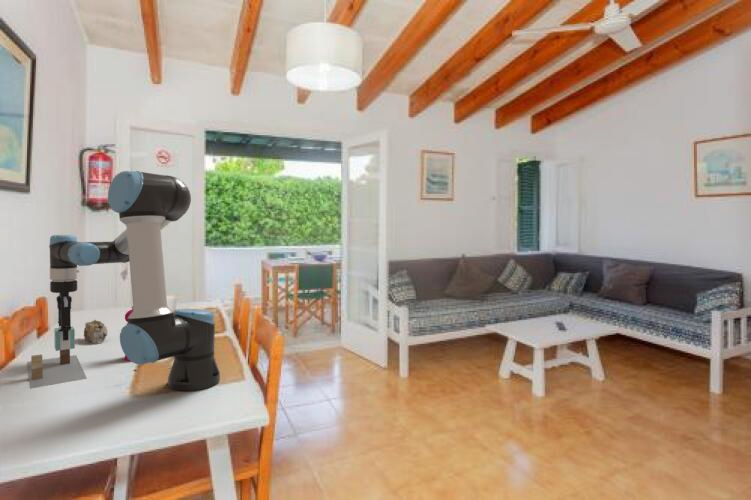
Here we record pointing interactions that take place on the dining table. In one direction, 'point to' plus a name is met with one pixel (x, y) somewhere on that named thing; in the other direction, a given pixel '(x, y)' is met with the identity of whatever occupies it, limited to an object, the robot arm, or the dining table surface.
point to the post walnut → (65, 356)
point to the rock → (95, 332)
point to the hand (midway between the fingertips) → (64, 347)
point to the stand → (57, 372)
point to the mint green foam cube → (57, 338)
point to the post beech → (36, 367)
